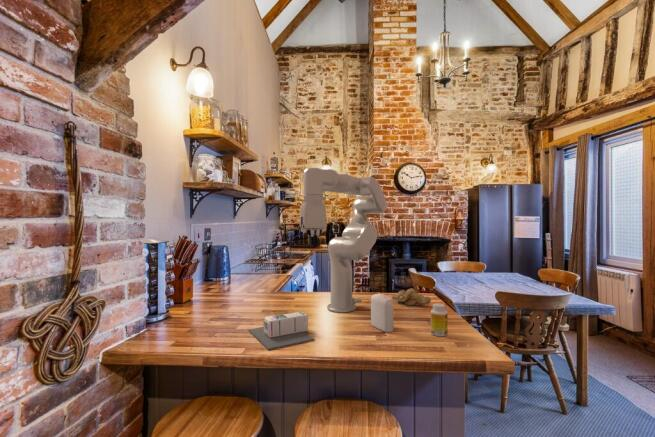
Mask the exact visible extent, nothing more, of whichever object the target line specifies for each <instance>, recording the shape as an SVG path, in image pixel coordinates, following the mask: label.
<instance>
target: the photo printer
mask: <svg viewBox="0 0 655 437" xmlns="http://www.w3.org/2000/svg"><path fill="white" fill-rule="evenodd" d="M394 323H395V322H394V302H393V300H392V299H391V298H390V297H389V296H387V295H386V294H383V293H375V294H373V295H372V296H371V297H370V324H371V326H373V327H374V328H376V329H379V330H380V331H382V332H386V333H392V332H393V331H394V330H395V329H394V326H395V324H394Z"/></svg>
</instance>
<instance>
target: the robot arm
mask: <svg viewBox="0 0 655 437" xmlns="http://www.w3.org/2000/svg"><path fill="white" fill-rule="evenodd" d="M324 192H329V193H338V194H345V195H349V196H356V197H357V198H355V199H354V201H353V202H352V210H353V211H352V212H353V217H352V220H350V222H349V223H348V224H347V225H346V226H345V228H344V230H343V231H342V234H341V236H336V237H333V238H331V239H330V240H329V242H328V245H327V250H328V256H329V261H330V262H329V263H330V303H329V304H327V306H326V309H327V310H328V311H330V312H333V313H350V312H354V311H355V310H356V309H357V306H356V305H355V304H356V303H357V304H359V303H362V298H360V297H358V298H356V297H353V266H352V264H351V262H350V260H351V261H361V260H363V259H364V258H365V257H366V256H367V255H368V254H369V252H370V251H371V250H372V248H373V246H374V245H375V244H376V242H377V238H378V232H377V229H376V227H375V226H374V225H373V224H370V220H369V219H368V217H367V216H366V215H367V214H368V215H369V214H370V215H371V214H373V215H374V214H383V213H385V211H386V210H387V208H388V202H387V199H386V196H385V194H384V192H383V190H382V187H381V184H380V183H379V182H378V180H377V179H376V178H375V177H373V176H366V177H357V176H354V175H350V174H345V173H338V172H337V171H336V170H334V169H330V168H329V169H322V168H320V167H307V168H305V169H304V170H303V202H302V203H301V207H300V212H299V228H300V232H302V233H306V235H307V236H308V238H309V240H308V241H309V242H308V243H309V246H310V247H312V248H317V247H318V245H319V236H320V235H321V233H324V232H326V231H327V210H326V206H325V205H326V204H325V203H324V201H326V200H327V199H326V196H325V197H324Z"/></svg>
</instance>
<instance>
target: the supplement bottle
mask: <svg viewBox="0 0 655 437" xmlns="http://www.w3.org/2000/svg"><path fill="white" fill-rule="evenodd" d="M430 333H431V335H433V336H434V337H447V335H448V311H447V310H446V305H445V304H443V303H433V305H432V309H431V310H430Z"/></svg>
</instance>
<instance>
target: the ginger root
mask: <svg viewBox="0 0 655 437" xmlns="http://www.w3.org/2000/svg"><path fill="white" fill-rule="evenodd" d="M391 298H392V299H393V300H396V303H398V304H401V303H403V304H405V305H406V306H407V307H409V306H410V307H411V306H414V305H415V306H421V307H422V306H426V305H429V304H430V303H431V302H432V299H431V297H430V296H428V295H427V296H425V295H423V294H421V293H419V292H417V291H416V290H415V289H414V287H413V288H412V287H411V288H408V289H407V290H404V289H401V290H399V291H398V292H397V293H396V294H393V295H391Z"/></svg>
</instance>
